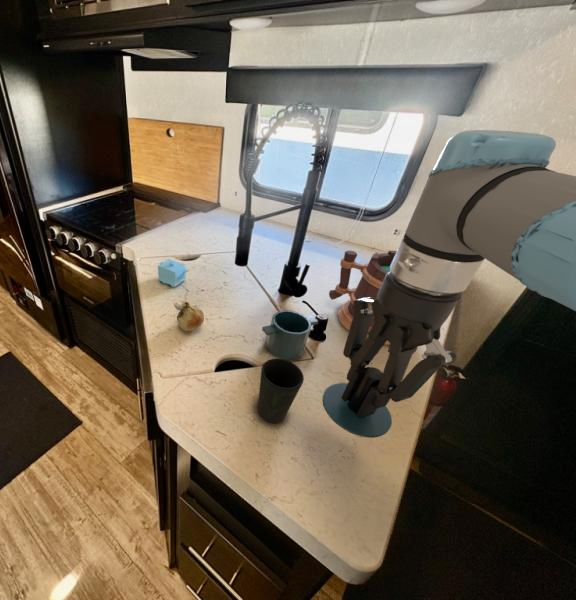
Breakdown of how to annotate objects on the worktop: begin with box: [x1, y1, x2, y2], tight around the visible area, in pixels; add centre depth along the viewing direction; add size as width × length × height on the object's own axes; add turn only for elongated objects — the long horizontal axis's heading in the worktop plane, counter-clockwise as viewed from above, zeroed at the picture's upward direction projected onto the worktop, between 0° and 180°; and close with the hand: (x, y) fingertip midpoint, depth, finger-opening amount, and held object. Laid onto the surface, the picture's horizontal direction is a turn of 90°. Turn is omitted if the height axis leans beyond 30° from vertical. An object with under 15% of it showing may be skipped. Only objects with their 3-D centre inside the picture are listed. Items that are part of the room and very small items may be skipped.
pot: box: [261, 309, 319, 361], centre depth 79 cm, size 9×15×8 cm, turn 108°
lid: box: [321, 366, 393, 439], centre depth 48 cm, size 10×10×9 cm
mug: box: [328, 250, 397, 346], centre depth 85 cm, size 18×23×20 cm
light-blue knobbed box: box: [157, 259, 190, 288], centre depth 105 cm, size 12×6×8 cm, turn 54°
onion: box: [173, 301, 205, 332], centre depth 85 cm, size 8×8×8 cm
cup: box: [257, 357, 305, 424], centre depth 62 cm, size 8×8×12 cm
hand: (357, 405), depth 50 cm, fingers closed on lid, 3 cm apart
